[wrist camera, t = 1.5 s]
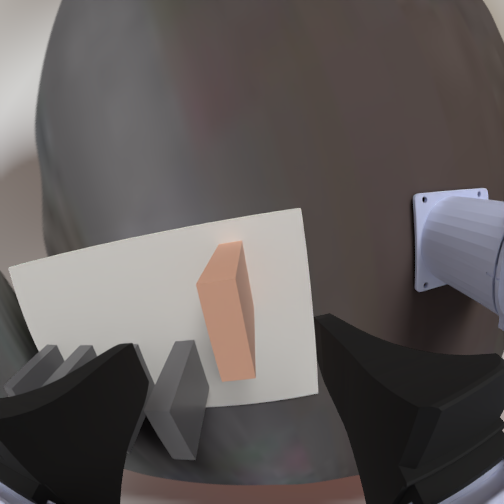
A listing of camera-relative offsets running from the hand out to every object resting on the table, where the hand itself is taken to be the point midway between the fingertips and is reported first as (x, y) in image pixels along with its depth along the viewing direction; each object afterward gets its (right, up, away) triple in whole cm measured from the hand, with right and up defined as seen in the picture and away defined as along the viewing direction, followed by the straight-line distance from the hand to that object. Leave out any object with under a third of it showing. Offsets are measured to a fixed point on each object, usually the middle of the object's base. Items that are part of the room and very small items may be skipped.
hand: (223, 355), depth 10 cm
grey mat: (-8, -3, +11) cm, 14 cm away
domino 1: (-19, -8, +12) cm, 23 cm away
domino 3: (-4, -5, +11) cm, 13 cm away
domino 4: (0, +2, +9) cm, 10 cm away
